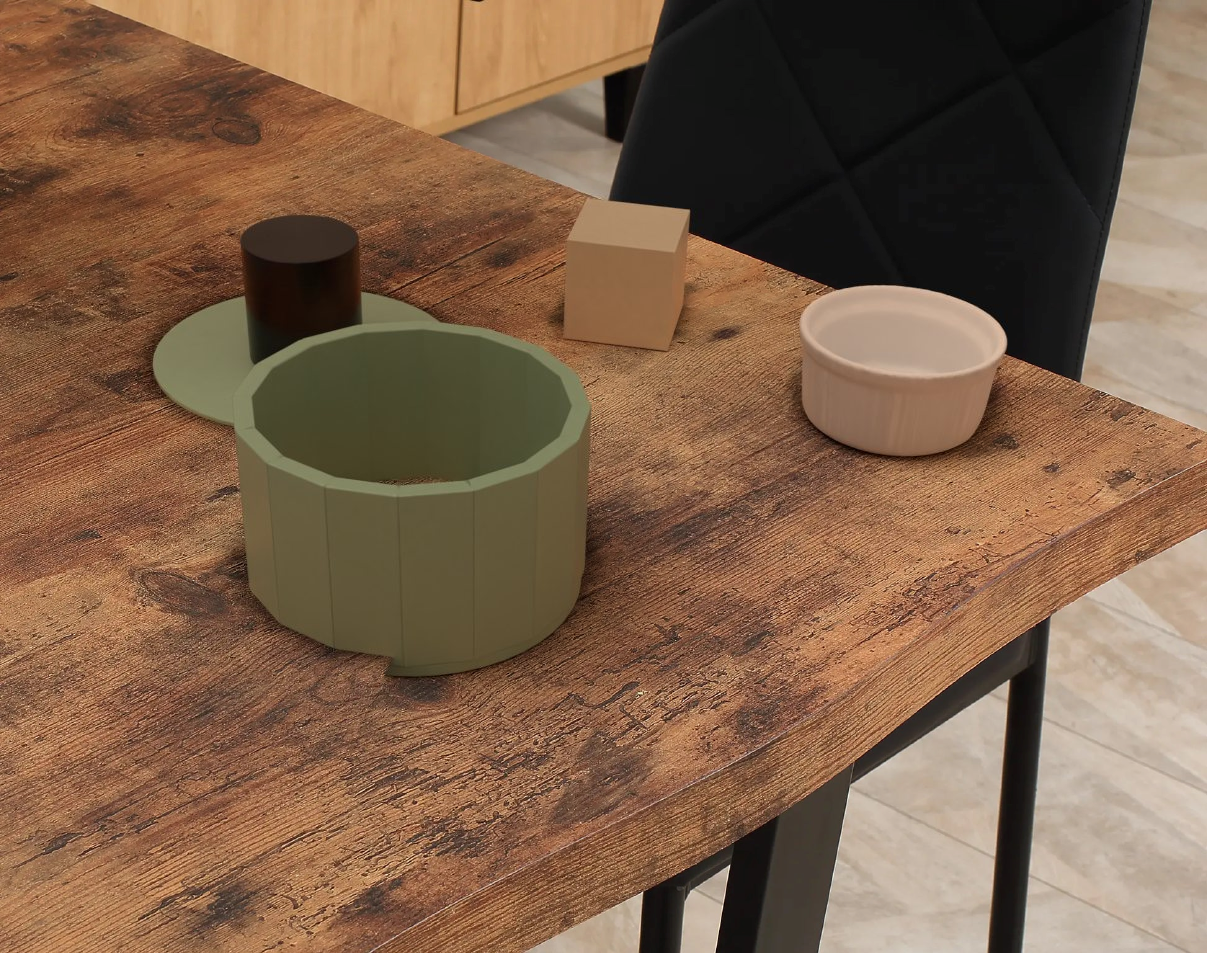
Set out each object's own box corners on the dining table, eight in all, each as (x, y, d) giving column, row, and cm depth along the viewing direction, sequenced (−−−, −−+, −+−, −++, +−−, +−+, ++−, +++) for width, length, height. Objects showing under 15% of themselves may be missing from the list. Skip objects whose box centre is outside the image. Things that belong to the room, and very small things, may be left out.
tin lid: (105, 429, 73) (85, 285, 69) (219, 294, 84) (206, 164, 80) (413, 470, 71) (409, 325, 67) (488, 327, 82) (489, 195, 78)
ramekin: (753, 423, 76) (762, 334, 73) (846, 350, 82) (858, 265, 79) (938, 489, 72) (955, 397, 69) (1021, 407, 78) (1039, 320, 75)
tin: (199, 649, 61) (178, 466, 57) (310, 471, 71) (299, 304, 66) (543, 700, 59) (548, 516, 55) (607, 510, 69) (616, 343, 65)
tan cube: (563, 338, 81) (566, 239, 79) (583, 293, 85) (586, 198, 83) (667, 351, 81) (675, 252, 78) (683, 305, 85) (690, 209, 82)
